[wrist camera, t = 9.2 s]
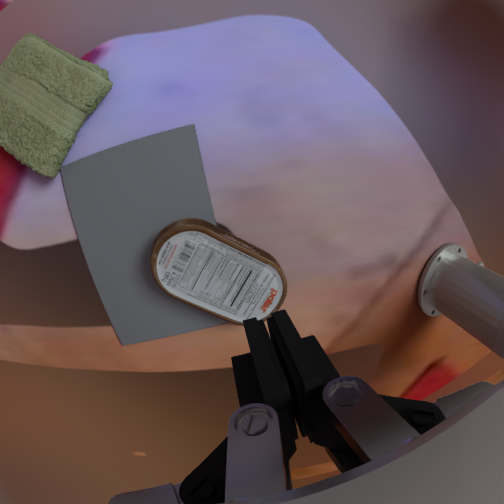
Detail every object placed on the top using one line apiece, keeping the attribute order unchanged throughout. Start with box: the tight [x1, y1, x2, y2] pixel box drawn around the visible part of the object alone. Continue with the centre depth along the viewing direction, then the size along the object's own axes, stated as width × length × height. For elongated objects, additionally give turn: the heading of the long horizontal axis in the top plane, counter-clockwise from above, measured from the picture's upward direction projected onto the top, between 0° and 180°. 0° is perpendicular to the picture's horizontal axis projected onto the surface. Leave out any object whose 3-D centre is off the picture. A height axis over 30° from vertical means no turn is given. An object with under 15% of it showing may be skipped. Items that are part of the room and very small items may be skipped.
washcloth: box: [0, 33, 113, 179], centre depth 19 cm, size 13×18×3 cm
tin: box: [150, 218, 287, 326], centre depth 29 cm, size 15×3×8 cm
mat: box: [60, 124, 229, 345], centre depth 28 cm, size 15×22×1 cm
